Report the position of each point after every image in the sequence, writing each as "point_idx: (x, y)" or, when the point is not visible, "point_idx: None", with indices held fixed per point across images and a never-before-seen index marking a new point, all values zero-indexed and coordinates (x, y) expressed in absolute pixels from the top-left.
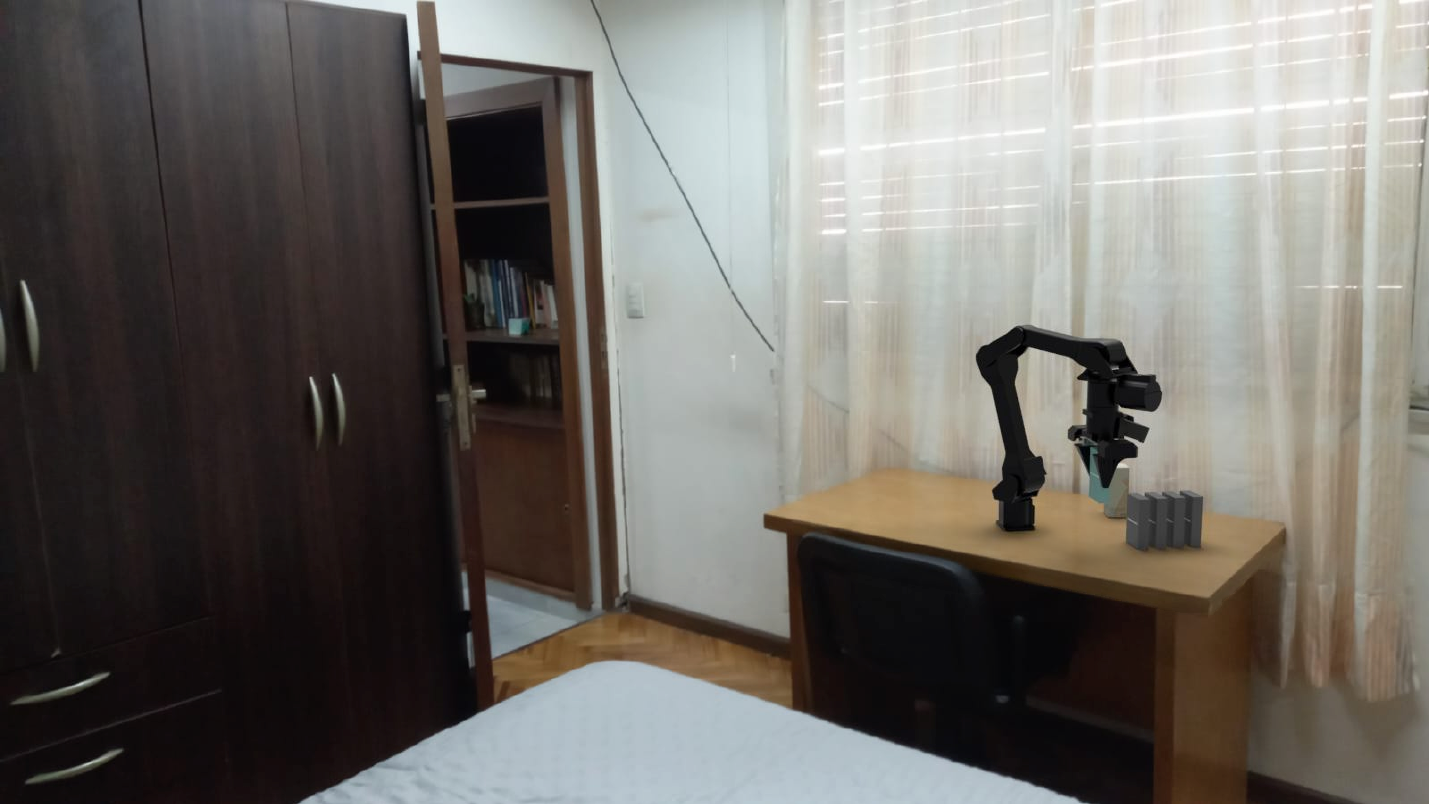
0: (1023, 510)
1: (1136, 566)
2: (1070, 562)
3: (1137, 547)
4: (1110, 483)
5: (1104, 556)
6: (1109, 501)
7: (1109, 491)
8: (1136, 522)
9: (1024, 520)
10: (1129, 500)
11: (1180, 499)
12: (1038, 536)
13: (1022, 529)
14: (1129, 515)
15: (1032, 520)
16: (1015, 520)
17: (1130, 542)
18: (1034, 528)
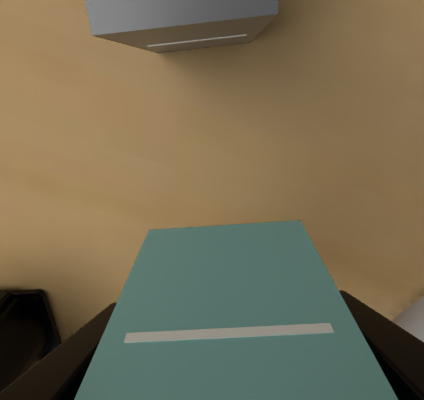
0: (15, 363)
1: (414, 115)
2: (338, 281)
3: (246, 42)
4: (337, 291)
5: (303, 178)
6: (301, 226)
7: (320, 261)
8: (236, 35)
9: (31, 334)
10: (137, 35)
11: None
12: (104, 295)
13: (54, 323)
14: (160, 42)
15: (8, 304)
16: (39, 358)
17: (191, 48)
18: (43, 295)
